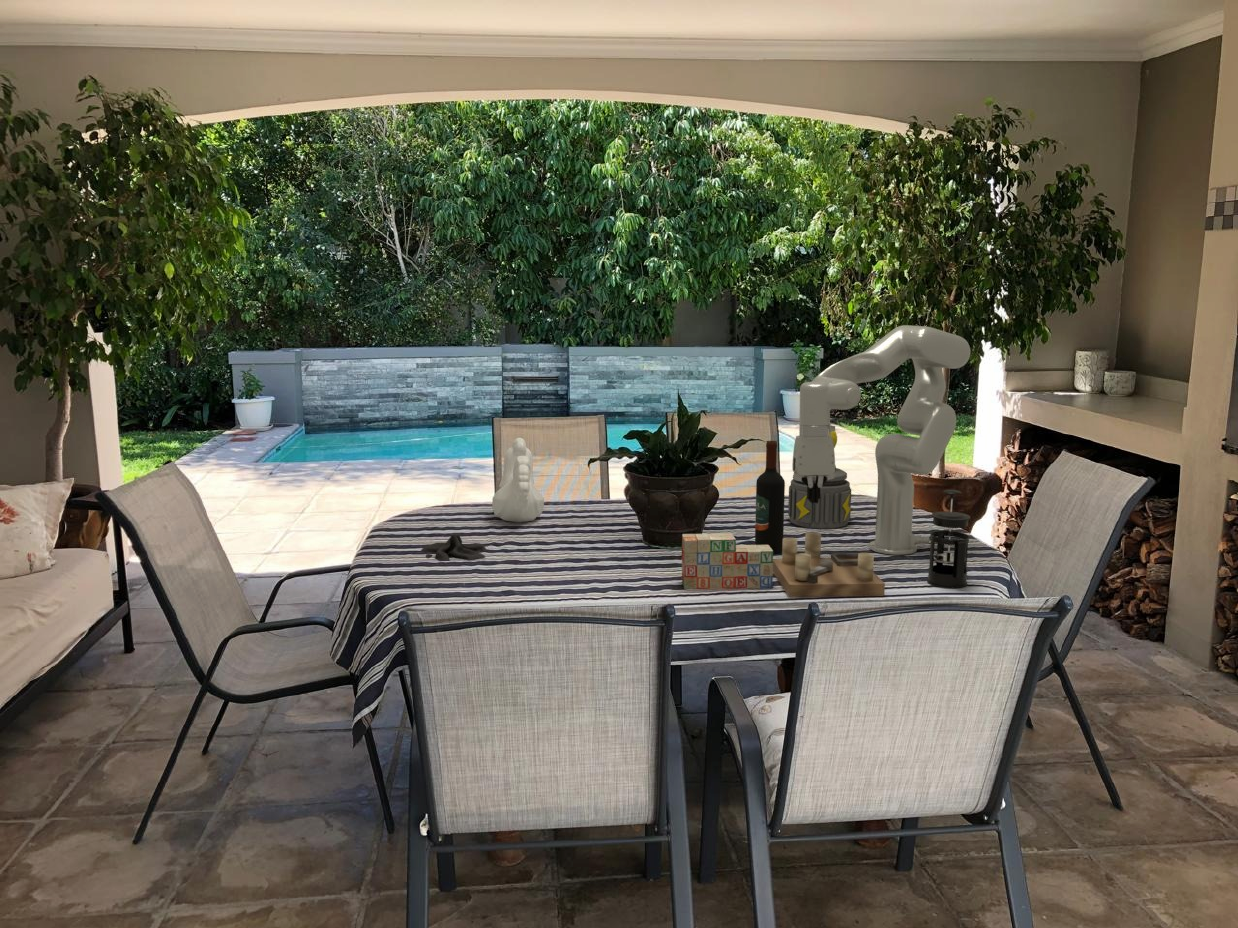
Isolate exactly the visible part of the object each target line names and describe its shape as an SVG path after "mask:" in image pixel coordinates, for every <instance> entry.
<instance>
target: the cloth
mask: <svg viewBox="0 0 1238 928" xmlns="http://www.w3.org/2000/svg"><path fill="white" fill-rule="evenodd" d="M486 551H487V548H486V546H484V545H483V544H481V543H478V542H473V543H467V544H463V540H462V537H461V535H460V533H456V532H455V533H452V534H451V535H450V537H449V538H448V540H446V542H434V543H431V544H428V545H425V546H424V547H422V548H421V550H420V552H421V553H424V552H426V555H425V558H426V559H430V558H432V557H433V556H434V555H433V554H430V553H435V556H434V559H435V560H436V561H439V562H441V561H450V562H451V559H450V558H453V557H454V558H461V559H463V560H465V561H469V562H470V561H475V560H482V559H485V558H486V556H485V555H484V554H482V553H481V552H486Z"/></svg>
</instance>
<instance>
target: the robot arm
mask: <svg viewBox="0 0 1238 928" xmlns="http://www.w3.org/2000/svg"><path fill="white" fill-rule="evenodd" d="M970 356H971V347H970V345H969V342H968V341H967V340H966V339H965V338H964V337H962V336H960V335H957V334H953V333H950V332H948V331H947V332H946V331H944V330H940V329H937V328H935V327H931V326H926V325H925V326H923V325H922V326H921V325H907V324H906V325H899V326H897V327H894V329H893V328H892V330H890V332H888V333H886V335H885V336H883V337H882V338H881V339H879V340H878V341H876V342H875V343H874V344H872V346H870V347H868V348H867V349H866V350H864V351H863V352H860V353H857V354H855V355H852V356H849V357H848V358H845V359H842V360H840V361H838V362H836V363H833V364H831V365H830V366H828V367H827V368H826V369H824V370H823V371H822V372H820V373H819V374H818V375H816V376H815V378H813V380H812V381H806V382H803V383H802V384H801V385H800V388H799V433H798V435H796V436H795V440H794V446H793V453H792V472H793V475H792V479H794V480H797V481H802V482H803V483H804V484H806V486H807V499H809V501H810V502H811V503H818V499H820V488H821V487H822V485H823V484H824V483H825V482H826V481H827V480H830V479H834V478H835V474H834V472H835V465H836V457H835V448H834V445H833V439H832V436H831V435H830V433H831V432H832V431H835V432H836V426H835V425H831V422H830V421H831V410H841V411H844V410H846V411H847V410H851V409H853V408H855V407H856V406H857V405H858V404H859V403H860V400H861V399H862V398H861V397H862V391H861V388H860V386H859V385H858V384H863V383H870V382H874V381H877V380H881V379H885V378H886V377H887V376H889V374H891V373H893V372H894V371H895V370H896V369H897V368H899V367H900V366H901V365H903V364H904V363H905V362H906V361H908V360H910V359H911V360H912V362H913V367H914V371H915V374H914V375H915V378H914V381H913V384H912V387H911V389H910V391H909V393H908V395H907V397H906V399H905V401H904V403H903V405H902V406H901V408H900V411H899V413H898V416H897V421H896V422H897V426H898V428H899V429H900V430H901V431H903V432H904V433H907V434H911V435H906V434H901V433H889V434H885V435H884V436H882V437H881V438H880V439H879V440H878V441H877V443H876V445H875V449H874V450H875V451H874V452H875V453H874V456H875V461H876V467H877V494H876V514H875V515H876V516H875V517H876V518H875V534H874V535H875V538H874V540H873V541H870V542H869V543H868V548H869V549H870V550H871V551H873V552H875V553H879V554H885V555H894V556H895V555H896V556H899V555H900V556H901V555H911V554H914V553H916V552H917V550H918V546H917V545H918V544H930V536H928V535H927V536H925V535H924V536H923V535H922V534H921V535H920V534H919V535H918V534H916V535H915V534H914V533H913V517H914V516H913V515H914V497H915V496H914V495H915V484H914V479H913V476H912V474H913V475H918V476H919V475H920V476H922V475H923V476H926V475H929V474H930V473H933V471H934V470H935V469H936V468H937V466H938V464H939V463H940V460H941V459H942V457H943V455H944V453H945V451H946V449H947V446H948V445H949V443H950V441H951V439H952V437H953V435H954V432H955V430H956V427H957V426H956V424H957V416H956V412H955V410H954V409H953V408H954V407H953V408H952V406H950V405H949V404H947V403H945V402H944V403H943V402H942V401H943V398H944V396H945V393H946V388H947V384H946V379H945V376H944V373H943V371H942V368H944V369H954V370H955V369H960V368H962V367H964V366H965V365H966V364H967V363H968V361H969V360H970V358H971V357H970ZM912 435H914V436H912ZM916 436H919V437H916ZM812 476H816V477H815V483H814V485H813V481H812Z"/></svg>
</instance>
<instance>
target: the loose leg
mask: <svg viewBox="0 0 1238 928" xmlns="http://www.w3.org/2000/svg"><path fill="white" fill-rule="evenodd" d="M804 539H805V540H804V554H809V555H811V558H821V551H822V550H821V548H822V533H821V532H819V531H806V532H805V538H804Z"/></svg>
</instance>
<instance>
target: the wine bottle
mask: <svg viewBox="0 0 1238 928" xmlns="http://www.w3.org/2000/svg"><path fill="white" fill-rule="evenodd" d="M765 447H766V453H765V469H764V472H762V473H761V474H760V475H759V476H758V477H757V479H756V485H755V487H756V488H755V489H756V490H755V491H756V492H755V493H756V494H755V520H754V523H755V524H754V525H755V528H754V529H755V530H754V545H769V546H770V548H771V549H772V550H773V555H778V554H779V555H780V554H782V547H783V538H784V532H785V531H784V529H785V528H784V527H785V526H784V525H785V494H786V493H785V489H786V483H785V482H786V481H785V479H784V477H783V476H782V475H781V474H780V473H779V472H778V471H777V452H778V441H776V440H766V443H765Z"/></svg>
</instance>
